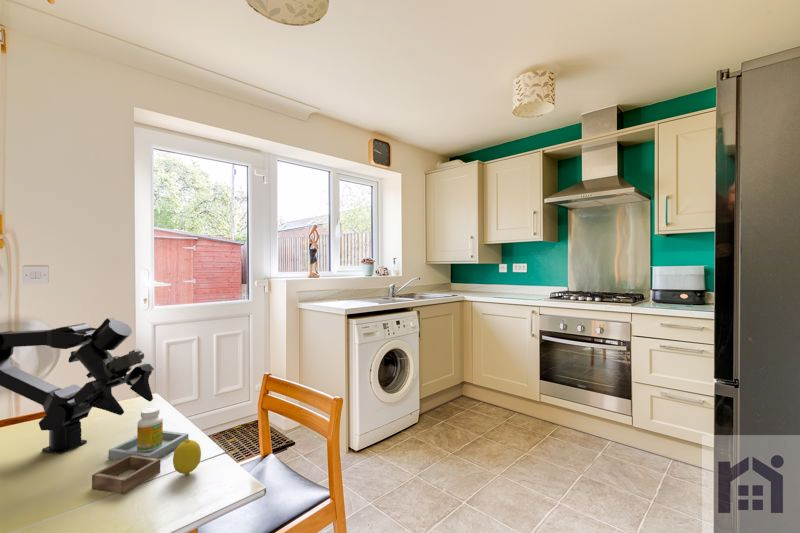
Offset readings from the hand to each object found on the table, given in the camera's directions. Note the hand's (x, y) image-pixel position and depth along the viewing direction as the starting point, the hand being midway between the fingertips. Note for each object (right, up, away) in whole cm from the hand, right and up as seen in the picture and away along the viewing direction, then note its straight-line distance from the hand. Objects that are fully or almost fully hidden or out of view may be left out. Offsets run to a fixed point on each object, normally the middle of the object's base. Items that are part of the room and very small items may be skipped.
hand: (137, 406), depth 94 cm
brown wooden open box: (+8, -11, -14) cm, 19 cm away
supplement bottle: (+3, -11, 0) cm, 11 cm away
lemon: (+19, -11, -11) cm, 25 cm away
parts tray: (+3, -11, 0) cm, 12 cm away
